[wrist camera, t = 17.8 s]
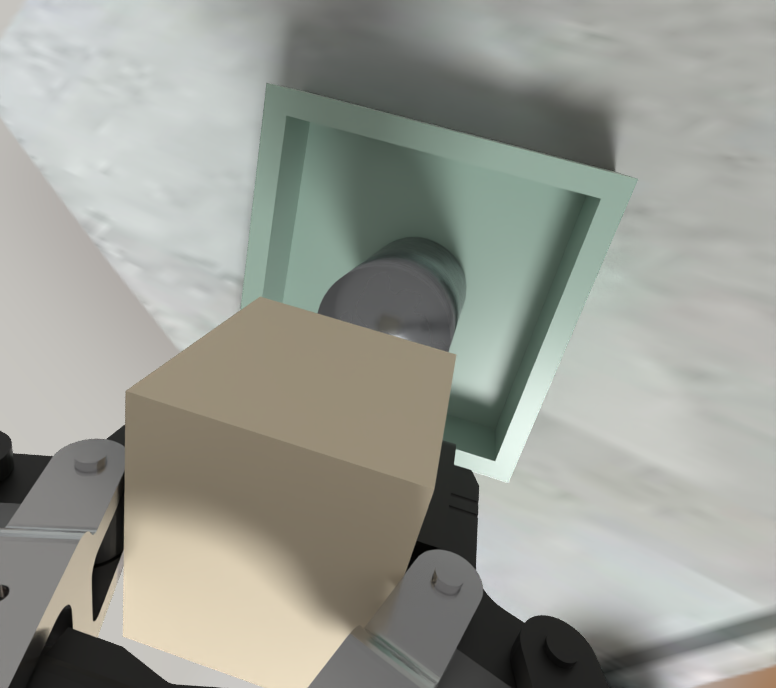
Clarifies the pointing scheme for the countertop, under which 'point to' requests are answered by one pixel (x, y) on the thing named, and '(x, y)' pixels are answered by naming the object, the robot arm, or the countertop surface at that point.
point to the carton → (276, 488)
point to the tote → (450, 229)
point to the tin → (403, 293)
